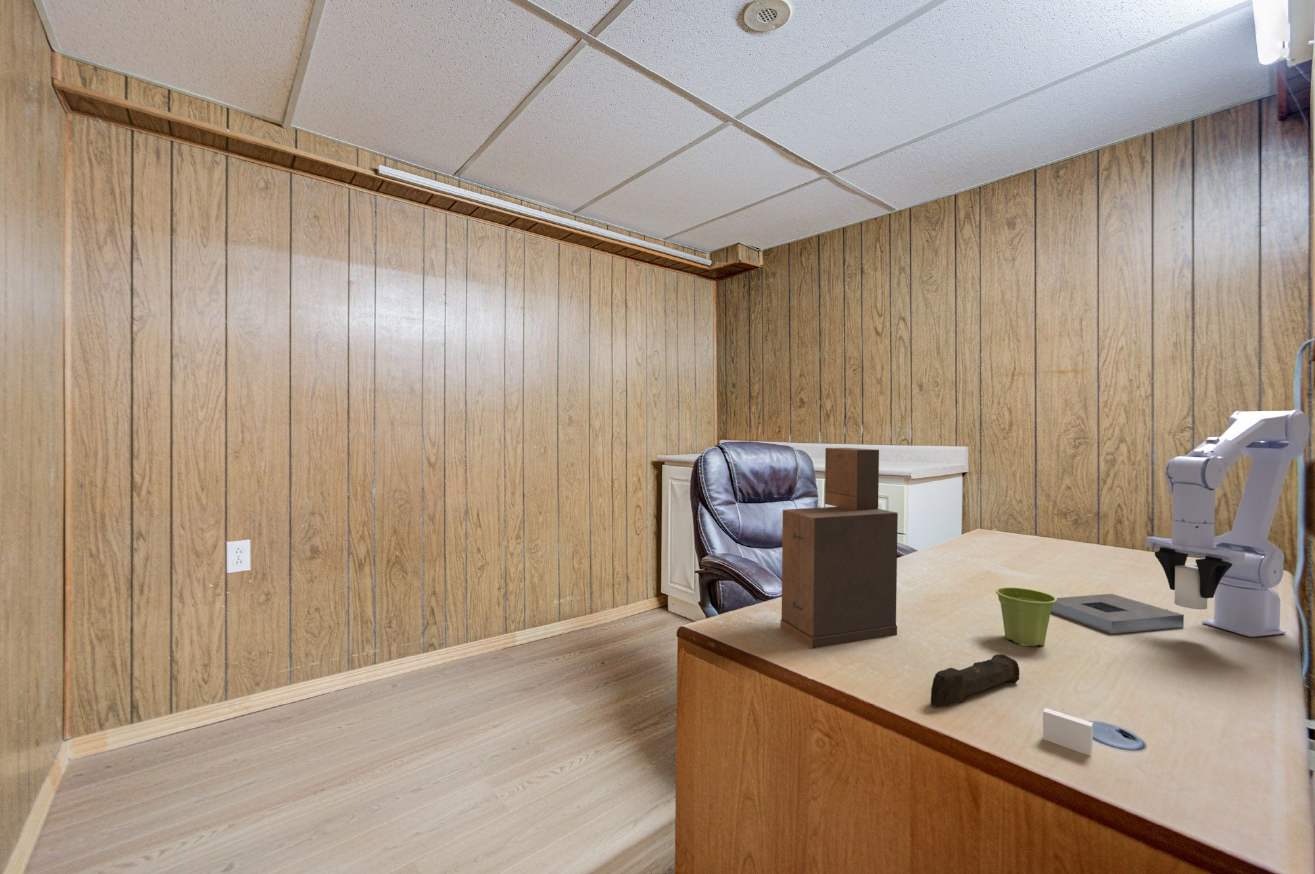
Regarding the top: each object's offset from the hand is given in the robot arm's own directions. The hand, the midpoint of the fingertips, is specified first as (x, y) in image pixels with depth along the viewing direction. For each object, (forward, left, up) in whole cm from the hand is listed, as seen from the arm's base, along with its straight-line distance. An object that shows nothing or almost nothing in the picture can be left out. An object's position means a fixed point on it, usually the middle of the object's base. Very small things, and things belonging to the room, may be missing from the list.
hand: (1191, 593), depth 103 cm
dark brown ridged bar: (+56, +9, -9) cm, 57 cm away
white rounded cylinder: (0, 0, -2) cm, 2 cm away
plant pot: (+31, -6, -9) cm, 33 cm away
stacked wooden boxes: (+62, -18, -9) cm, 65 cm away
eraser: (+55, +23, -9) cm, 60 cm away
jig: (+3, -12, -9) cm, 15 cm away
